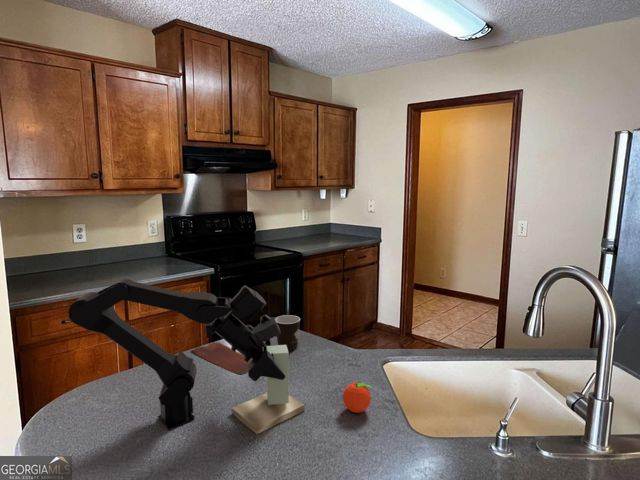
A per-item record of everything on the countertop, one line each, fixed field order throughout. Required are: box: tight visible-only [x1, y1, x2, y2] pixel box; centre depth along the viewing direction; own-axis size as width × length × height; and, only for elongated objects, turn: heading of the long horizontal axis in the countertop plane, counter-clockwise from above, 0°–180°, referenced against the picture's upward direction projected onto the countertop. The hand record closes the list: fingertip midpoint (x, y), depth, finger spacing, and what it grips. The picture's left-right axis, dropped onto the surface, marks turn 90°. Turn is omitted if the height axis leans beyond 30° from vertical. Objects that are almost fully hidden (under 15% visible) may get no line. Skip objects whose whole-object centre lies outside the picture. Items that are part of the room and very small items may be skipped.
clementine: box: [342, 382, 374, 414], centre depth 100 cm, size 8×7×7 cm
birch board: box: [231, 392, 306, 435], centre depth 100 cm, size 14×11×2 cm
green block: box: [266, 344, 290, 405], centre depth 101 cm, size 5×5×13 cm
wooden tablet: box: [191, 341, 253, 375], centre depth 130 cm, size 27×10×2 cm, turn 48°
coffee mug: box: [274, 314, 301, 352], centre depth 139 cm, size 12×9×10 cm
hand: (282, 373), depth 101 cm, fingers closed on green block, 5 cm apart
